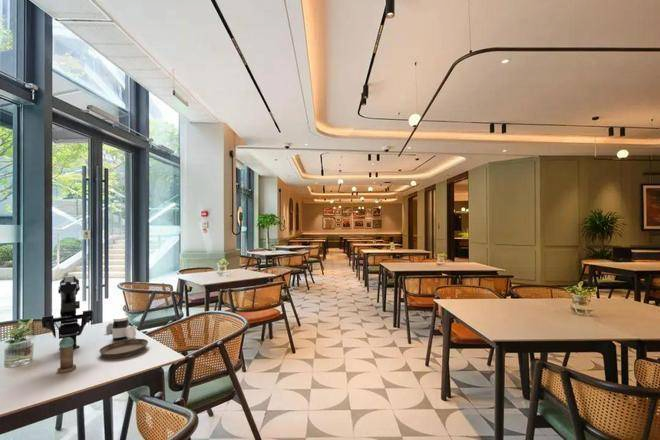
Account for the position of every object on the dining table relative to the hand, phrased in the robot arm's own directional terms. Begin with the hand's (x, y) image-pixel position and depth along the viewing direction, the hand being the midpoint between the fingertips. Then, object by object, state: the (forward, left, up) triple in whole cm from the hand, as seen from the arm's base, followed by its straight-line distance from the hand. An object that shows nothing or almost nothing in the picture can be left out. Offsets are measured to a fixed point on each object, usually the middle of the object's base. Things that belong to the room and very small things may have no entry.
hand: (68, 335), depth 153 cm
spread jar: (-13, +32, -13) cm, 38 cm away
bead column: (+7, -4, -13) cm, 15 cm away
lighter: (-31, +36, -13) cm, 50 cm away
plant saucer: (+8, +20, -14) cm, 26 cm away
